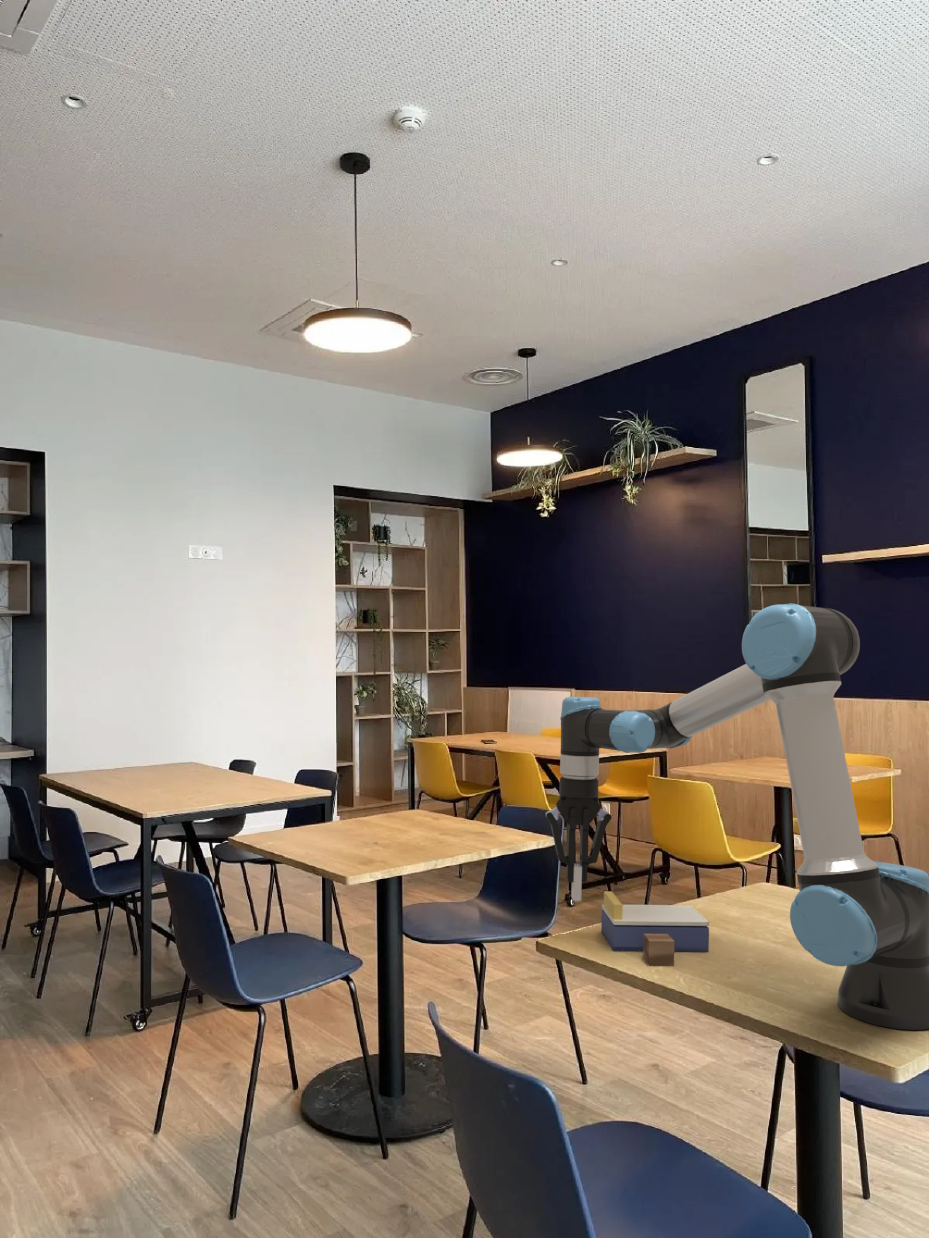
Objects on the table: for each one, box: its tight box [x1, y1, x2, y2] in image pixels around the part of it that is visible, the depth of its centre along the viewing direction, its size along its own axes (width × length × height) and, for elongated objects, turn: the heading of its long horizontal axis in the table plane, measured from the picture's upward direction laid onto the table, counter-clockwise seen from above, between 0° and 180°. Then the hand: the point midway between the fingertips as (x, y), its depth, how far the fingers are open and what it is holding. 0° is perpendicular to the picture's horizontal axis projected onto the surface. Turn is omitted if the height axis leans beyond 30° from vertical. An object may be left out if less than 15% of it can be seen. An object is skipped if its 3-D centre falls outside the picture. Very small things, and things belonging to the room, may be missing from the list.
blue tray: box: [600, 909, 710, 953], centre depth 181 cm, size 12×18×4 cm, turn 92°
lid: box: [601, 890, 710, 927], centre depth 181 cm, size 12×18×4 cm, turn 92°
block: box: [642, 934, 675, 967], centre depth 169 cm, size 4×4×4 cm
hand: (576, 898), depth 181 cm, fingers closed
